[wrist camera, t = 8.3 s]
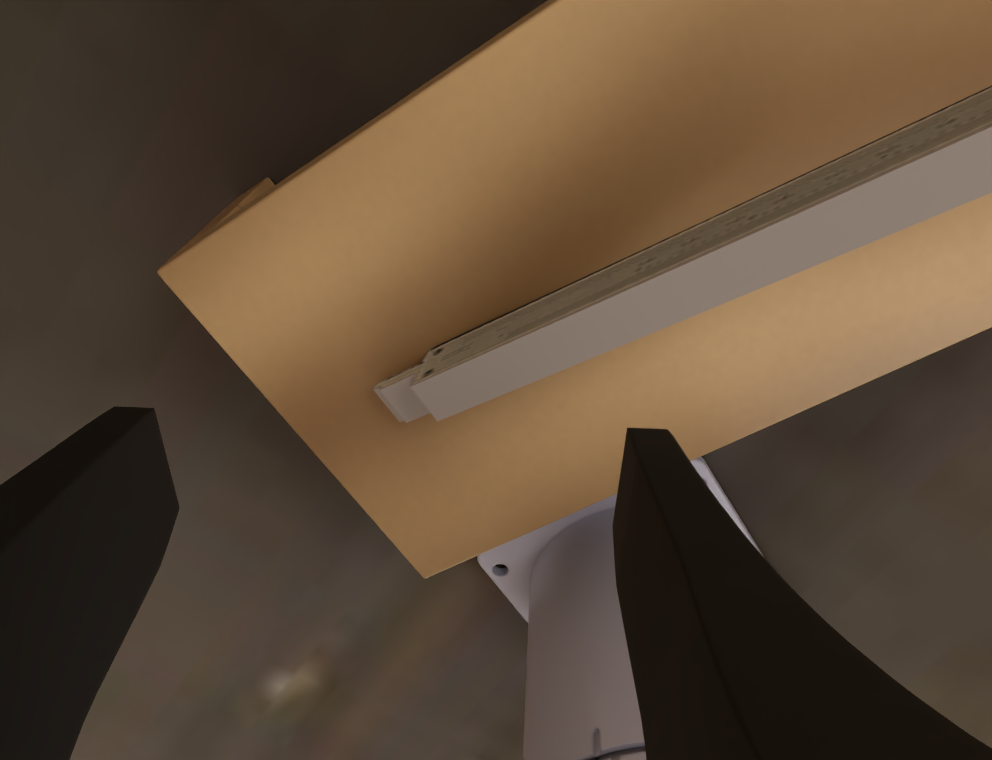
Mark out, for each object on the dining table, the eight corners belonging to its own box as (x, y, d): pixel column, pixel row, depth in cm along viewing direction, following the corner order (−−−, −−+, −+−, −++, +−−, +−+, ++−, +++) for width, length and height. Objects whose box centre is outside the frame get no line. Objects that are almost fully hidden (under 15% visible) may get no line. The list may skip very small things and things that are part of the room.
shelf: (1456, -31, 17) (1755, -10, 13) (446, 466, 26) (424, 580, 21) (1410, -607, 13) (1812, -848, 9) (234, 199, 22) (154, 272, 17)
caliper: (1494, -258, 12) (2292, -398, 6) (1500, -180, 12) (2254, -251, 7) (375, 378, 18) (298, 576, 13) (404, 414, 19) (342, 620, 13)
